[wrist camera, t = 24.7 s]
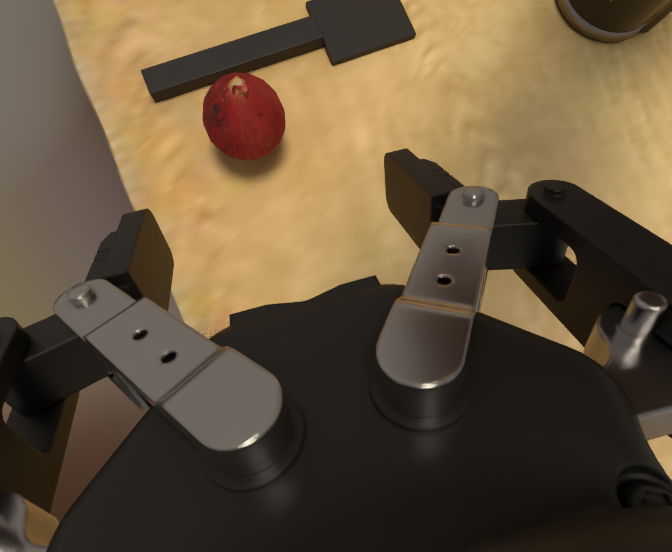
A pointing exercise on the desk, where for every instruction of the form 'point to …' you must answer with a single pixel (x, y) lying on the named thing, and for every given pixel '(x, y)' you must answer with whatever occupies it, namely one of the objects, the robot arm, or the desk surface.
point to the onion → (243, 116)
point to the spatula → (289, 44)
